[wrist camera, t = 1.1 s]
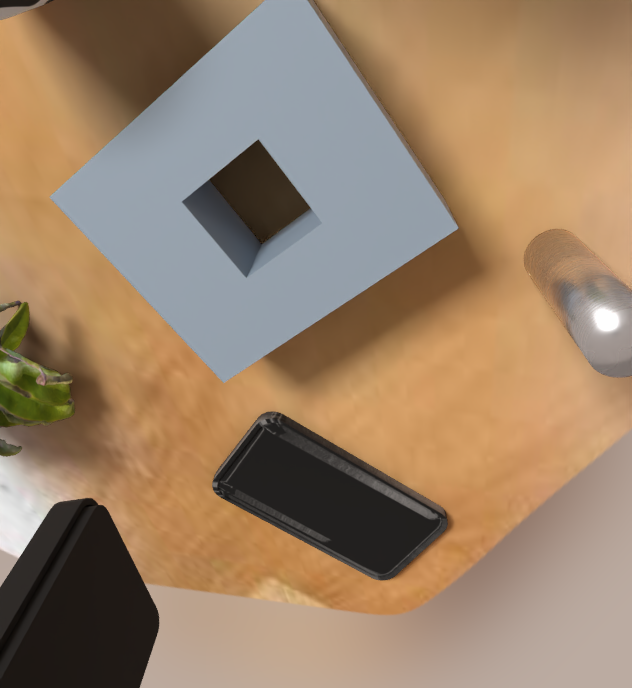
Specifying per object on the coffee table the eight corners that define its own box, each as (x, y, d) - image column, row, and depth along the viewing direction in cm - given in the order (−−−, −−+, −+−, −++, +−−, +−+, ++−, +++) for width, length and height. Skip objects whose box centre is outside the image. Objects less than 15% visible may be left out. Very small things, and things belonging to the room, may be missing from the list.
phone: (266, 412, 37) (454, 522, 40) (268, 402, 38) (452, 510, 41) (205, 490, 40) (384, 586, 43) (208, 479, 41) (383, 573, 44)
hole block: (302, -16, 27) (291, -24, 22) (444, 199, 31) (458, 228, 26) (92, 173, 31) (49, 197, 27) (240, 338, 35) (223, 382, 31)
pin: (566, 218, 31) (648, 294, 22) (591, 262, 32) (680, 352, 23) (513, 250, 32) (572, 335, 23) (540, 292, 33) (606, 390, 24)
